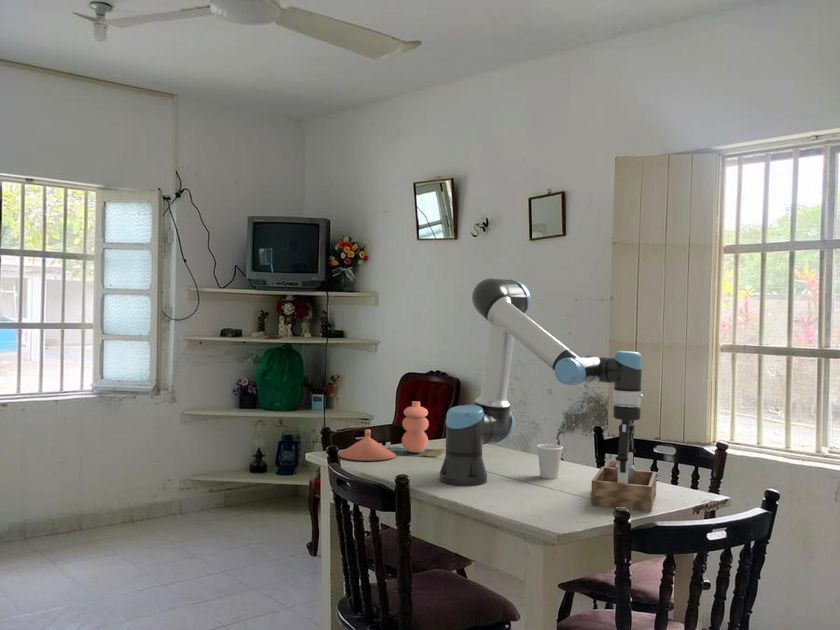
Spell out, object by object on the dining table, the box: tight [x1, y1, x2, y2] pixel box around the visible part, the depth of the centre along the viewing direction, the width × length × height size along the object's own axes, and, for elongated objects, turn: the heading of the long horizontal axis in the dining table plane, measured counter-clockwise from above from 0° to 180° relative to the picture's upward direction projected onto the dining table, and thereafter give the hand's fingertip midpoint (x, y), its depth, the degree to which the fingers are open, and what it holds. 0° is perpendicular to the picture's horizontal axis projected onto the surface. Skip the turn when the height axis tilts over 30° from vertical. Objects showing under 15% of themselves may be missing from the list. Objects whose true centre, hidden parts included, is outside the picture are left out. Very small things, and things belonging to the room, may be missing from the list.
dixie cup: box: [536, 443, 564, 480], centre depth 243 cm, size 8×8×10 cm
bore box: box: [590, 466, 658, 513], centre depth 214 cm, size 16×21×7 cm
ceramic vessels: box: [338, 400, 430, 462], centre depth 276 cm, size 35×21×19 cm, turn 117°
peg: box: [615, 464, 636, 484], centre depth 214 cm, size 5×5×10 cm
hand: (625, 479), depth 214 cm, fingers open, 13 cm apart
